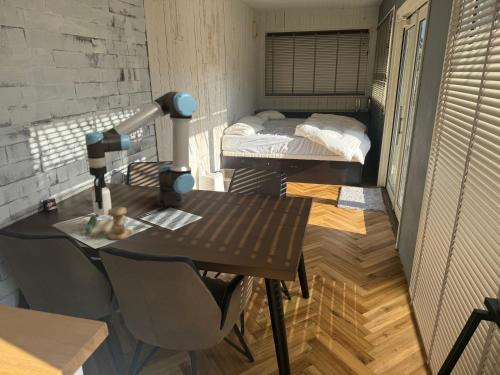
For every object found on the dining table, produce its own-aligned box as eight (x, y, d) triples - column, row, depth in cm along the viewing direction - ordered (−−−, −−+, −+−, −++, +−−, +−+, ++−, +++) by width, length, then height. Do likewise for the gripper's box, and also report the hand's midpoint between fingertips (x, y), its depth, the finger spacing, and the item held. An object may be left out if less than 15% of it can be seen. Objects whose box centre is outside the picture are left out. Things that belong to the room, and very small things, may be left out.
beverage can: (101, 216, 164) (98, 192, 160) (90, 213, 168) (87, 189, 164) (115, 211, 170) (112, 188, 167) (105, 208, 174) (102, 185, 171)
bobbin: (132, 230, 170) (129, 205, 166) (130, 239, 161) (127, 213, 157) (110, 232, 168) (107, 207, 164) (107, 241, 158) (104, 214, 154)
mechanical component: (104, 218, 184) (102, 200, 181) (87, 216, 186) (84, 199, 183) (107, 216, 187) (105, 198, 184) (90, 214, 189) (88, 197, 186)
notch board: (124, 220, 182) (123, 212, 180) (120, 232, 167) (120, 224, 166) (91, 222, 178) (90, 215, 177) (85, 236, 163) (84, 227, 162)
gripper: (93, 161, 171) (98, 204, 178) (84, 171, 151) (90, 219, 158) (109, 160, 172) (114, 203, 179) (102, 171, 153) (108, 218, 160)
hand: (103, 211), depth 169 cm, fingers closed on beverage can, 8 cm apart
